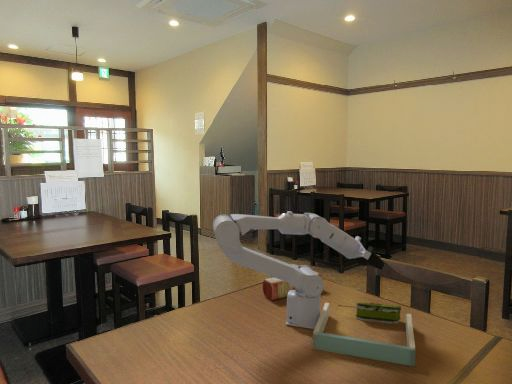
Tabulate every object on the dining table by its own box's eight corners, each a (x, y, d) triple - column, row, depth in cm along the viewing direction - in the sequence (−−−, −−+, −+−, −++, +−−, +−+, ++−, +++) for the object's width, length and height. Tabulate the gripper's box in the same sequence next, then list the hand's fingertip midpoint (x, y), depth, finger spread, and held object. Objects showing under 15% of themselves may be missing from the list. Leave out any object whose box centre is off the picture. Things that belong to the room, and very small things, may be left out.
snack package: (311, 284, 138) (311, 267, 138) (323, 290, 133) (323, 272, 132) (261, 296, 128) (261, 276, 127) (271, 303, 122) (271, 283, 122)
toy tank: (403, 311, 103) (399, 291, 112) (333, 305, 108) (335, 286, 117) (401, 333, 106) (398, 311, 115) (333, 325, 110) (335, 305, 119)
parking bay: (312, 348, 94) (312, 333, 94) (325, 315, 113) (325, 302, 112) (414, 366, 87) (415, 350, 86) (410, 327, 105) (411, 314, 104)
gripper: (359, 232, 101) (396, 256, 104) (335, 225, 115) (368, 246, 118) (346, 255, 100) (384, 278, 103) (323, 245, 114) (357, 266, 117)
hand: (375, 263), depth 111 cm, fingers open, 7 cm apart
